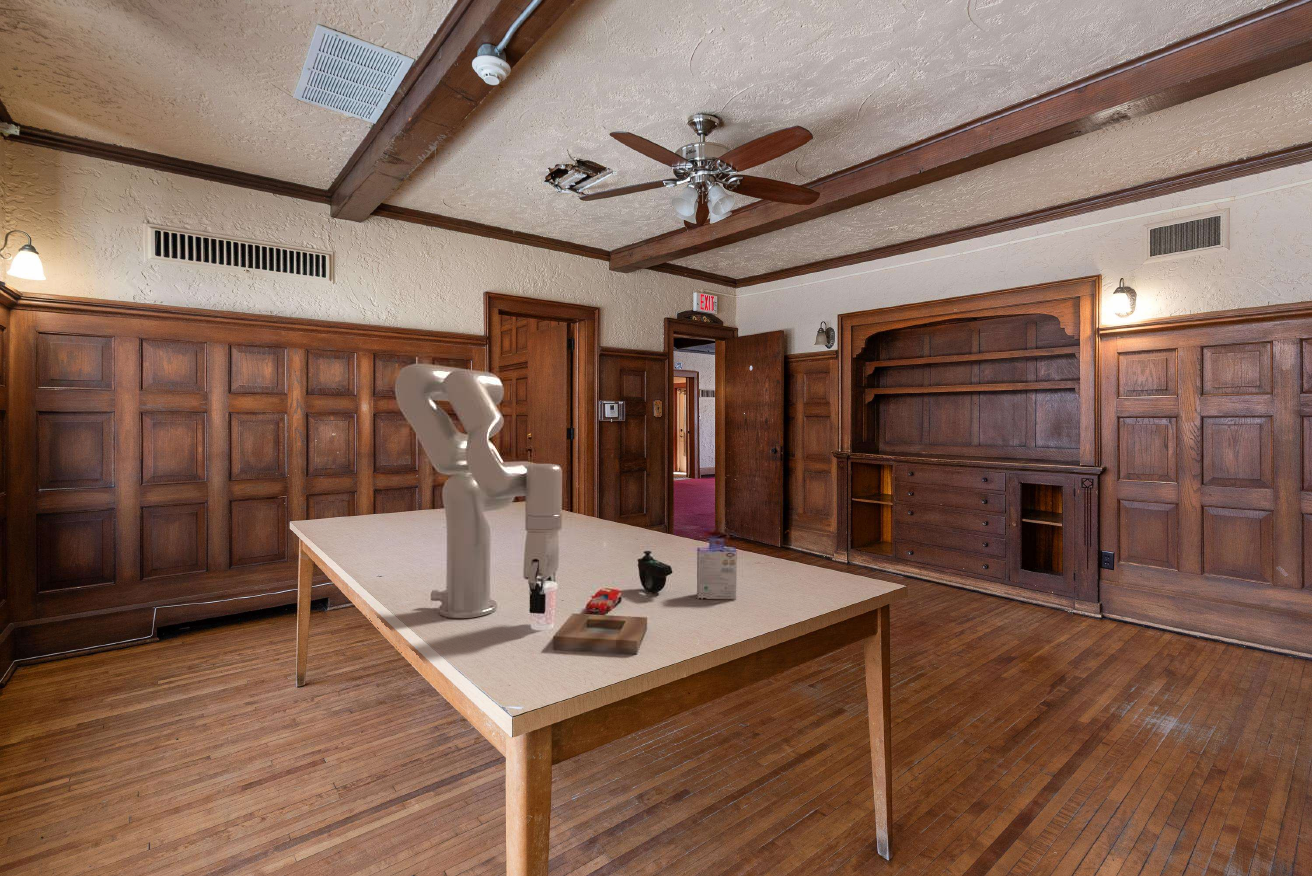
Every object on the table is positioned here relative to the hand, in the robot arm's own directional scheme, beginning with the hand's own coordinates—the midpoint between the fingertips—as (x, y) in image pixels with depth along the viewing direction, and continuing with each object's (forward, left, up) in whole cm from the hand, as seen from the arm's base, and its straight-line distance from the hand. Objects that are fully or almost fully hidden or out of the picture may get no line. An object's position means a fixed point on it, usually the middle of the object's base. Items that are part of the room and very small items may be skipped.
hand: (542, 607), depth 123 cm
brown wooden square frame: (+14, -5, -4) cm, 15 cm away
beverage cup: (0, 0, -4) cm, 4 cm away
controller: (+20, +30, -4) cm, 36 cm away
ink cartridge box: (+36, +29, -4) cm, 46 cm away
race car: (+10, +16, -5) cm, 19 cm away
